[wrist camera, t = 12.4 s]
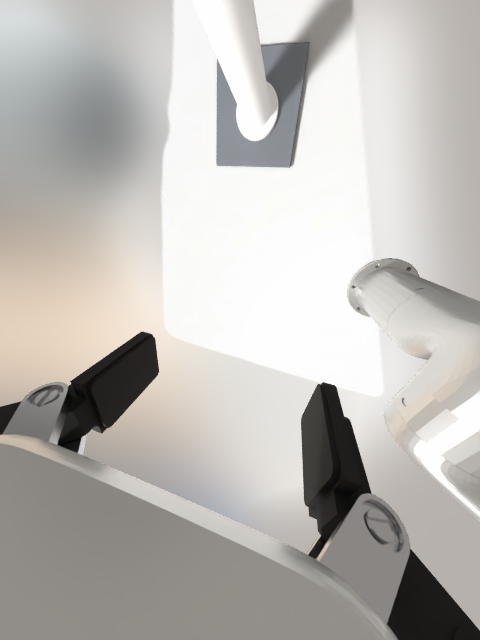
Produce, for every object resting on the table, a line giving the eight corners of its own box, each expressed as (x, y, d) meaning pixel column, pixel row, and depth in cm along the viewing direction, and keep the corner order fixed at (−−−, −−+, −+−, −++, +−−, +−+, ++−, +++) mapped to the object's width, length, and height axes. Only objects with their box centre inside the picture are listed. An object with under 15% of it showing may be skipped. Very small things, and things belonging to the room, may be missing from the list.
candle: (275, 73, 28) (233, -405, 7) (280, 133, 31) (261, -70, 10) (233, 93, 30) (96, -224, 9) (241, 147, 33) (153, 8, 12)
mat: (308, 46, 27) (309, 42, 26) (289, 167, 34) (289, 166, 33) (218, 54, 29) (217, 50, 29) (217, 165, 36) (216, 164, 35)
